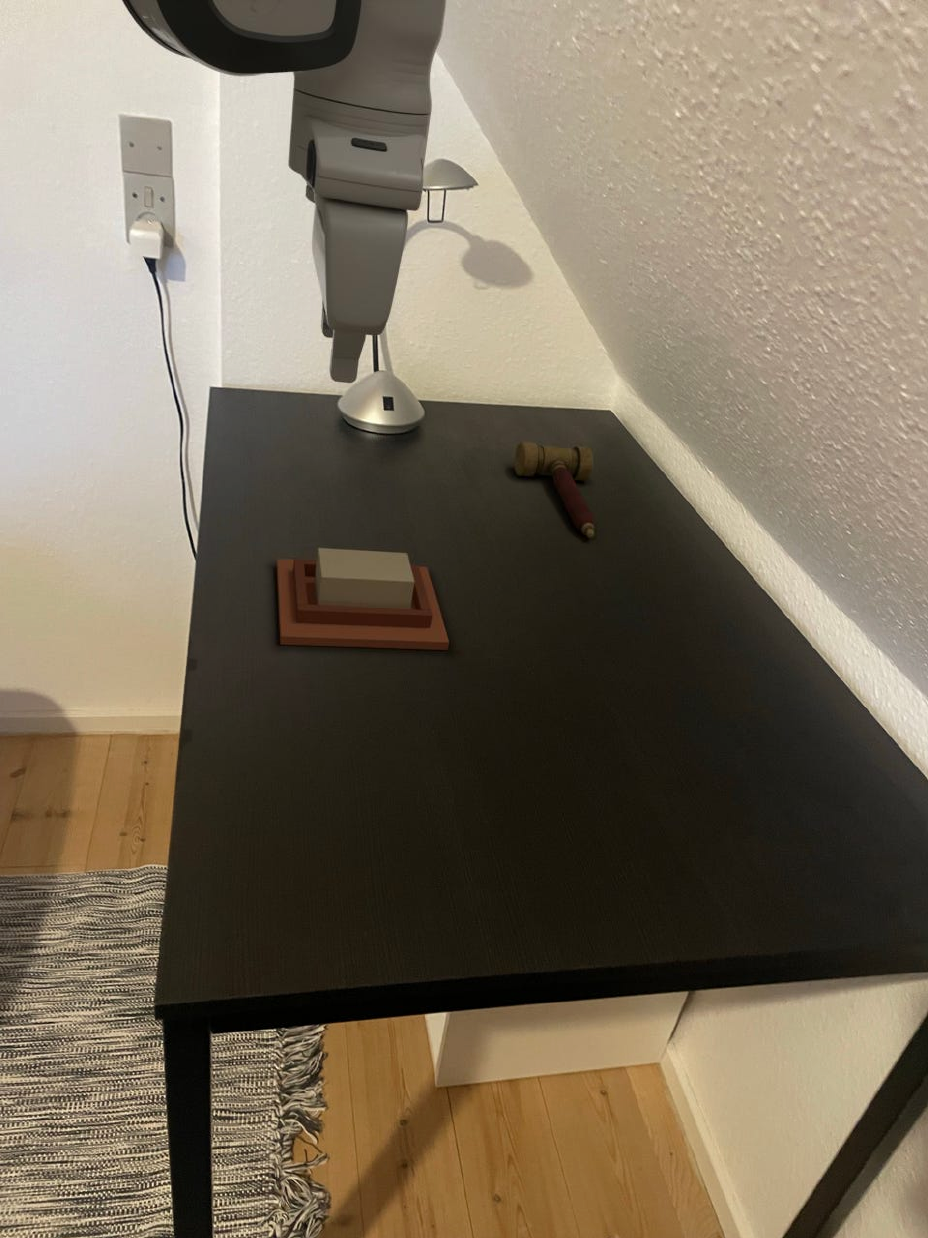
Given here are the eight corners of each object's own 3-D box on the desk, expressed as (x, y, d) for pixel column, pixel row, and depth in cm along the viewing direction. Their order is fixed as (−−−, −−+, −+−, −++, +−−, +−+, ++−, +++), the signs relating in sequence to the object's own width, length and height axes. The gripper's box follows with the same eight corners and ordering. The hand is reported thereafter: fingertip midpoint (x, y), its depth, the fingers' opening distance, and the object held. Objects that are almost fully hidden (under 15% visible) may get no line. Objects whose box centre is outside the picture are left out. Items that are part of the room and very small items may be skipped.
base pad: (280, 644, 88) (282, 622, 86) (276, 566, 99) (278, 546, 98) (447, 650, 92) (451, 629, 90) (425, 574, 103) (429, 554, 102)
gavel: (634, 522, 115) (557, 517, 113) (623, 553, 118) (548, 548, 116) (587, 441, 132) (519, 435, 129) (579, 470, 134) (511, 464, 132)
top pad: (317, 611, 91) (321, 576, 89) (314, 581, 96) (318, 547, 94) (408, 615, 94) (414, 581, 92) (401, 586, 98) (407, 552, 96)
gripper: (302, 120, 69) (288, 308, 77) (318, 169, 53) (299, 403, 60) (386, 134, 71) (365, 317, 78) (428, 187, 55) (396, 412, 62)
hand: (337, 355), depth 69 cm, fingers open, 8 cm apart
